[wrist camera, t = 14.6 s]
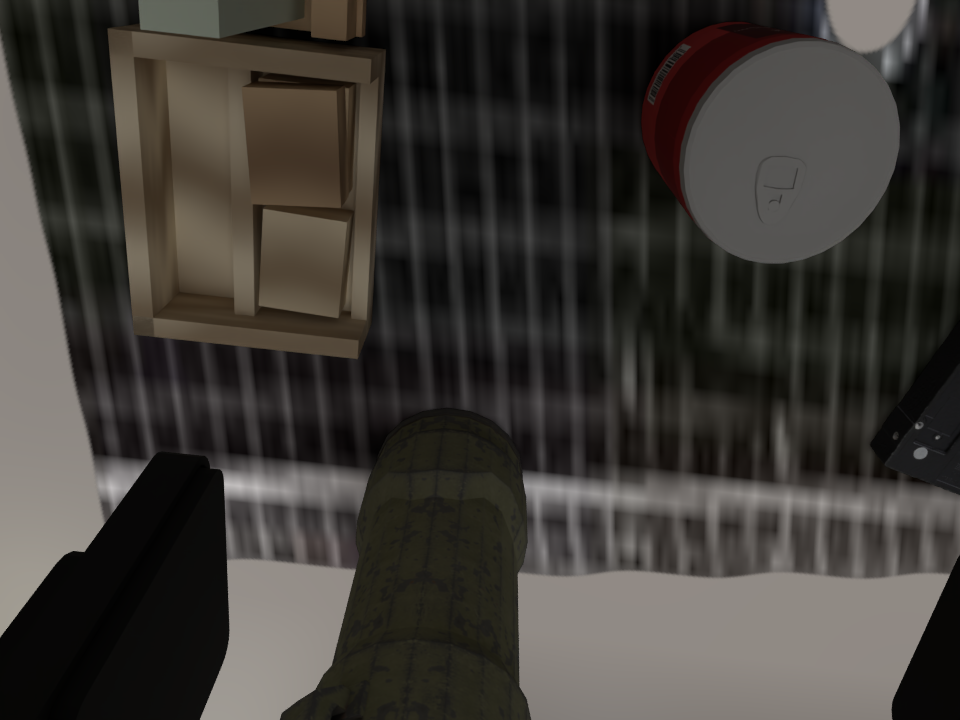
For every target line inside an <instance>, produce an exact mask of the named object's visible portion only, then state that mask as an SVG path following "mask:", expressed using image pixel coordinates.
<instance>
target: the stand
mask: <svg viewBox="0 0 960 720" xmlns="http://www.w3.org/2000/svg"><path fill="white" fill-rule="evenodd" d="M366 1H367V0H305V13H304V18H302V19H298V20H293V21H289V22H285V23H281V24H277V25H273V26H269V27H278V28H286V29H295V30H304V31H311V37H316V38H324V39H333V40H342V41H347V40H350V39H352V38H354V37H363V36H365V24H366Z"/></svg>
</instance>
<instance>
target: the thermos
mask: <svg viewBox="0 0 960 720" xmlns="http://www.w3.org/2000/svg"><path fill="white" fill-rule="evenodd" d="M522 478H523V475H522V467H521V462H520V456H519V452H518V450H517V449H516V447H515V445H514V444H513V442H512V440H511V439H510V437H509V435H508V434H507V433H505V432H504V431H503V430H502V429H501V428H499V427H498V426H497V425H496V424H495V423H494V422H492V421H491V420H489V419H487V418H484V417H482V416H480V415H477V414H475V413H473V412H471V411H464V410H457V409H449V408H444V409H437V410H430V411H423V412H421V413H419V414H417V415H414V416H412V417H410V418H408V419H406V420H404V421H402V422H401V423H400V424H399V425H398V426H397V427H396V428H395V429H394V430H393V431H392V432H390V433H389V434H388V435H387V437H386V439H385V441H384V443H383V445H382V447H381V449H380V451H379V453H378V457H377V463H376V465H375V467H374V469H373V471H372V473H371V475H370V477H369V480H368V483H367V487H366V491H365V494H364V498H363V502H362V505H361V509H360V513H359V516H358V520H357V532H356V545H357V549H358V552H359V560H358V564H357V568H356V572H355V576H354V580H353V584H352V588H351V592H350V596H349V599H348V603H347V607H346V612H345V615H344V619H343V623H342V628H341V631H340V635H339V639H338V643H337V647H336V651H335V655H334V659H333V663H332V666H331V667H330V668H329V669H328V671H327V672H326V673H325V674H324V675H323V677H322V679H321V681H320V682H319V684H318V686H317V688H316V690H315V691H313V692H311V693H310V694H308V695H307V696H305V697H303V698H302V699H300V700H299V701H297V702H296V703H295V704H293V705H292V706H291V707H290V708H288V709H287V710H285V711H284V712H283V713H282V714H281V718H280V720H531V717H530V713H529V708H528V703H527V699H526V697H525V696H524V694H523V692H522V690H521V689H520V687H519V638H518V637H519V635H518V577H517V575H518V572H519V570H520V568H521V567H522V565H523V562H524V557H525V553H526V548H527V543H528V540H527V511H526V495H525V490H524V484H523V479H522Z"/></svg>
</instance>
